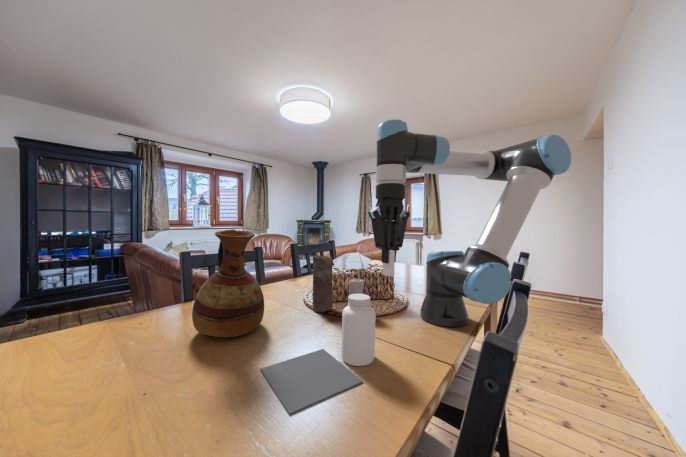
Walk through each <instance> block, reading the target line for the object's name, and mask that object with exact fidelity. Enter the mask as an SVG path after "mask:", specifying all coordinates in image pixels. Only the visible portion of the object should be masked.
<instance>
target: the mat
mask: <svg viewBox="0 0 686 457" xmlns="http://www.w3.org/2000/svg"><path fill="white" fill-rule="evenodd" d="M259 370H260V372H261V374H262V375H263V377H264V378H265V380H266V381H267V383H268V385H269V386H270V388H271V389H272V390H273V392H274V394H275V395H276V397H277V399H278V401H280V403H281V405H282V406H283V408H284V409H285V411H286V413H287V414H288V415H289V416H291V415H293V414H295V413H297V412H300V411H302V410H305V409H307V408H309V407H312V406H313V405H315V404H318V403H321V402H322V401H324V400H326V399H328V398H331V397H334V396H336V395H338V394H340V393H342V392H346V391H347V390H350V389H351V388H354V387H356V386H358V385H361V384H362V383H364V381H363V380H362V379H361V378H360V377H358V375H356V374H355V373H353V372H352V370H351V369H349V368H347V367H346V366H345V365H344V364H343V363H341V362H340V361H339V360H338V359H336V358H335V357H334V356H332V354H330V353H329V352H328V351H326V350H325V349H324V348H322V349H318V350H316V351H312V352H309V353H305V354H302V355H299V356H296V357H294V358H293V357H292V358H289V359H286V360H283V361H280V362H277V363H275V364H274V363H273V364H270V365H267V366H264V367H262V368H261V367H260V369H259Z"/></svg>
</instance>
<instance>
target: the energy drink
mask: <svg viewBox="0 0 686 457" xmlns="http://www.w3.org/2000/svg"><path fill="white" fill-rule="evenodd" d="M351 294H365V280H364V279H363V278H350V279H349V281H348V296H349V295H351Z"/></svg>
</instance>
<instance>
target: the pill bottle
mask: <svg viewBox="0 0 686 457" xmlns="http://www.w3.org/2000/svg"><path fill="white" fill-rule="evenodd" d="M347 298H348V299H347V306H345V307H344V308H343V309H342V313H341V314H342V315H341V317H342V318H341V320H342V321H341V354H340V355H341V359H342V361H343V362H344V363H346V364H348V365H350V366H355V367H363V366H364V367H366V366H369V365H370V364H372V363H373V362H374V360H375V354H376V353H375V352H376V351H375V350H376V348H375V347H376V320H377V318H376V315H377V314H376V310H375V309H374V308H373V307H371V296H370V295H368V294H365V293H364V294H351V295H349V294H348V297H347Z"/></svg>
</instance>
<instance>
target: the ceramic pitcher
mask: <svg viewBox="0 0 686 457" xmlns="http://www.w3.org/2000/svg"><path fill="white" fill-rule="evenodd" d="M214 235H215V237H216V238H218V239H219V246H218V249H217V263H218V264H217V266H218V267H217V268H218V270H217V271H216V272H214V273H212V274H211V275H210V276H209V277H208V278H207V279H206V280H205V281H204V282H203V283H202V285H201V286H200V288H199V290H198V291H197V294H196V295H195V299H194V301H193V305H192V308H191V310H192V311H191V320H192V325H193V327H194V329H195V330H196V332H197V333H200V334H202V335H206V336H211V337H217V338H232V337H239V336H240V337H241V336H242V335H246V334H249V333H250V332H252V331H254V330H255V329H256V328H257V327H259V326H260V324H261V322H262V321H263V319H264V318H263V317H264V314H265V297H264V294H263V290H262V288H261V285H260V284H259V282H258V281H257V279H256V278H255V276H254V275H252V274H251V273H250V272H249V271H247V270H246V268H245V262H244V261H245V260H244V259H245V253H246V249H247V245H248V243H249V242H250V241H251V240H252V239H253V238H254V237H255V236H256V234H255V233H254V232H251V231H248V230H236V229H226V230H220V231H216V232H215V233H214Z"/></svg>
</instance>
